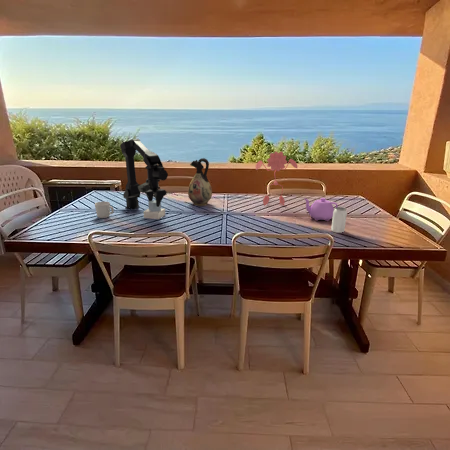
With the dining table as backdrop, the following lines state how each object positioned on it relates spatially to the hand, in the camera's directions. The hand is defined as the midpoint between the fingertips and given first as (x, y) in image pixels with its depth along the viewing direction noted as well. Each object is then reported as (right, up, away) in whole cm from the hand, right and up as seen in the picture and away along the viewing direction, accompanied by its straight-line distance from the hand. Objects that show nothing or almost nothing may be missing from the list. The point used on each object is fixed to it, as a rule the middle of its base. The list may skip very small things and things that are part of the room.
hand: (154, 205), depth 195 cm
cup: (-27, -7, -1) cm, 28 cm away
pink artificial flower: (+72, 0, +27) cm, 77 cm away
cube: (0, -3, +1) cm, 3 cm away
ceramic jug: (+24, +2, +29) cm, 38 cm away
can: (+98, -15, -17) cm, 100 cm away
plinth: (0, -7, +2) cm, 7 cm away
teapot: (+94, -8, +3) cm, 94 cm away
